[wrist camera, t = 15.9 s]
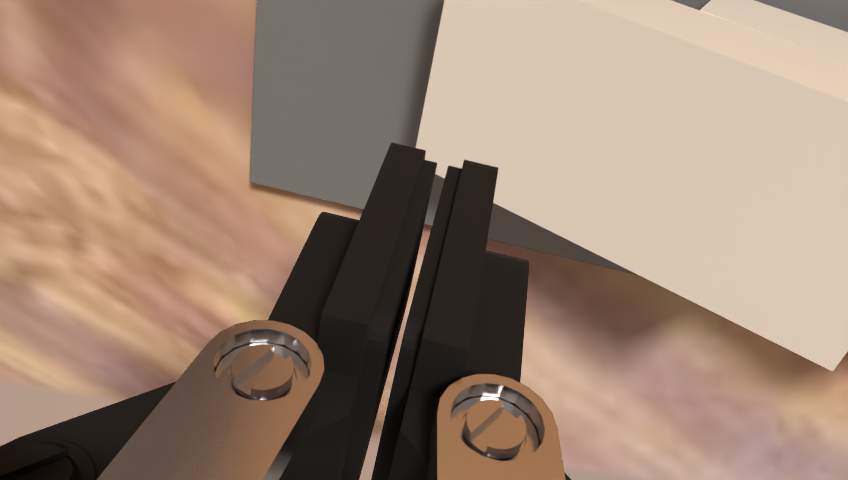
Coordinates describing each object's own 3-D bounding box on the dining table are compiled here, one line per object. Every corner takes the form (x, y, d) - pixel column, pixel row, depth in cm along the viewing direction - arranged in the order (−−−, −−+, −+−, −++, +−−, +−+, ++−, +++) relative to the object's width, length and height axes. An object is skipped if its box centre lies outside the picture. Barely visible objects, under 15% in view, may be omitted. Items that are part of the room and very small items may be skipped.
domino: (412, 162, 18) (832, 371, 15) (453, -47, 15) (992, 155, 12) (454, 134, 20) (846, 319, 16) (499, -62, 17) (990, 114, 13)
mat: (256, 171, 22) (249, 182, 22) (277, -278, 15) (268, -277, 15) (1141, 382, 21) (1154, 398, 21) (1557, 9, 15) (1590, 19, 14)
